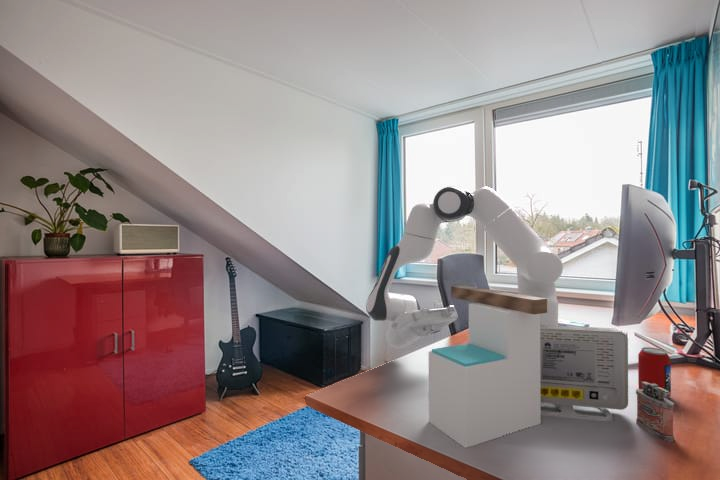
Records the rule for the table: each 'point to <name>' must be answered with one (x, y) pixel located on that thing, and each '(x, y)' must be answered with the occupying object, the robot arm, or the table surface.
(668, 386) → the beverage can
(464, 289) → the walnut block
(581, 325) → the light bulb box
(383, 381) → the table surface
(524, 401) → the stepped stand
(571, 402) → the network device
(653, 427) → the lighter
